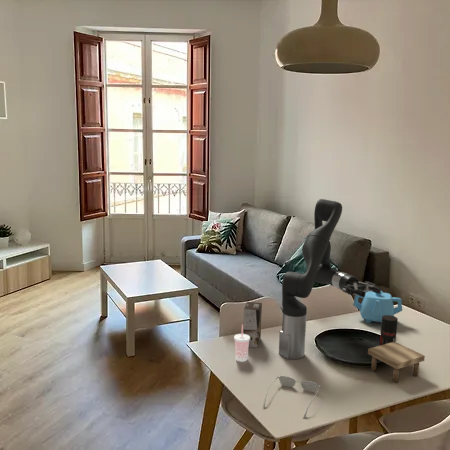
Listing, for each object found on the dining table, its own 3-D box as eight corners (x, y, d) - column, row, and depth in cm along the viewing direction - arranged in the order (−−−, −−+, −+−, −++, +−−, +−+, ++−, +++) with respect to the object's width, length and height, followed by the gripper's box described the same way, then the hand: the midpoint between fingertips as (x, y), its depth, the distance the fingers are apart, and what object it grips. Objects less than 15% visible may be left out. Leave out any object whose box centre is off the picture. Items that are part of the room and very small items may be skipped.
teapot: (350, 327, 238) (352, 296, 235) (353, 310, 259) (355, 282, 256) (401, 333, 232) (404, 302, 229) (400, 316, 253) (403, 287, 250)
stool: (395, 385, 186) (397, 363, 185) (366, 368, 198) (368, 348, 197) (422, 376, 193) (424, 355, 192) (393, 360, 205) (394, 341, 204)
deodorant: (392, 358, 208) (395, 321, 205) (377, 354, 211) (380, 318, 208) (396, 352, 213) (399, 317, 210) (381, 349, 216) (384, 314, 213)
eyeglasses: (320, 394, 180) (321, 383, 179) (306, 421, 164) (307, 409, 163) (276, 384, 186) (277, 374, 185) (259, 409, 170) (260, 398, 169)
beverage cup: (252, 360, 203) (253, 325, 201) (238, 363, 200) (239, 328, 197) (243, 354, 208) (244, 320, 206) (230, 357, 205) (231, 323, 203)
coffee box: (258, 347, 215) (259, 309, 211) (242, 346, 216) (243, 308, 213) (261, 338, 223) (262, 302, 220) (246, 337, 225) (247, 301, 221)
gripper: (332, 276, 225) (360, 286, 212) (357, 271, 232) (385, 281, 219) (331, 292, 227) (358, 304, 213) (356, 288, 234) (384, 299, 220)
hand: (372, 293), depth 216 cm, fingers open, 8 cm apart
